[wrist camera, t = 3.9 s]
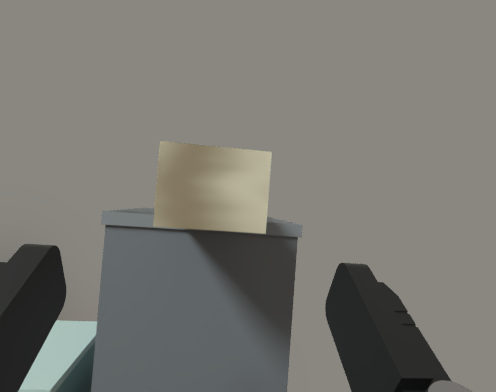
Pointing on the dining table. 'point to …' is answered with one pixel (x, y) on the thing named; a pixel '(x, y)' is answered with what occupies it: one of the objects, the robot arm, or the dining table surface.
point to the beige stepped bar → (212, 188)
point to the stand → (193, 307)
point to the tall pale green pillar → (64, 359)
